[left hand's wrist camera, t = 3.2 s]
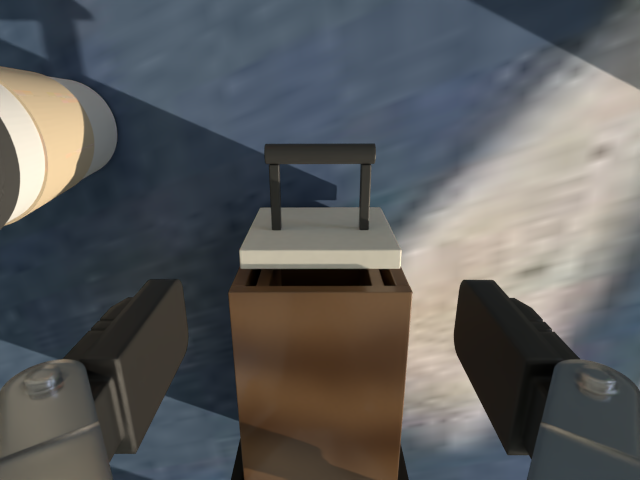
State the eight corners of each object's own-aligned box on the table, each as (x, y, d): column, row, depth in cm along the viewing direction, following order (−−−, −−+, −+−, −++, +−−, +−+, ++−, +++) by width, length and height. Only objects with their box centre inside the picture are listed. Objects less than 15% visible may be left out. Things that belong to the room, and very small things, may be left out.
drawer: (256, 134, 30) (231, 153, 22) (384, 134, 30) (408, 152, 22) (270, 410, 39) (257, 498, 31) (370, 410, 39) (384, 498, 30)
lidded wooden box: (255, 230, 34) (227, 292, 24) (385, 230, 34) (412, 291, 24) (266, 431, 41) (249, 544, 31) (374, 431, 41) (392, 544, 31)
